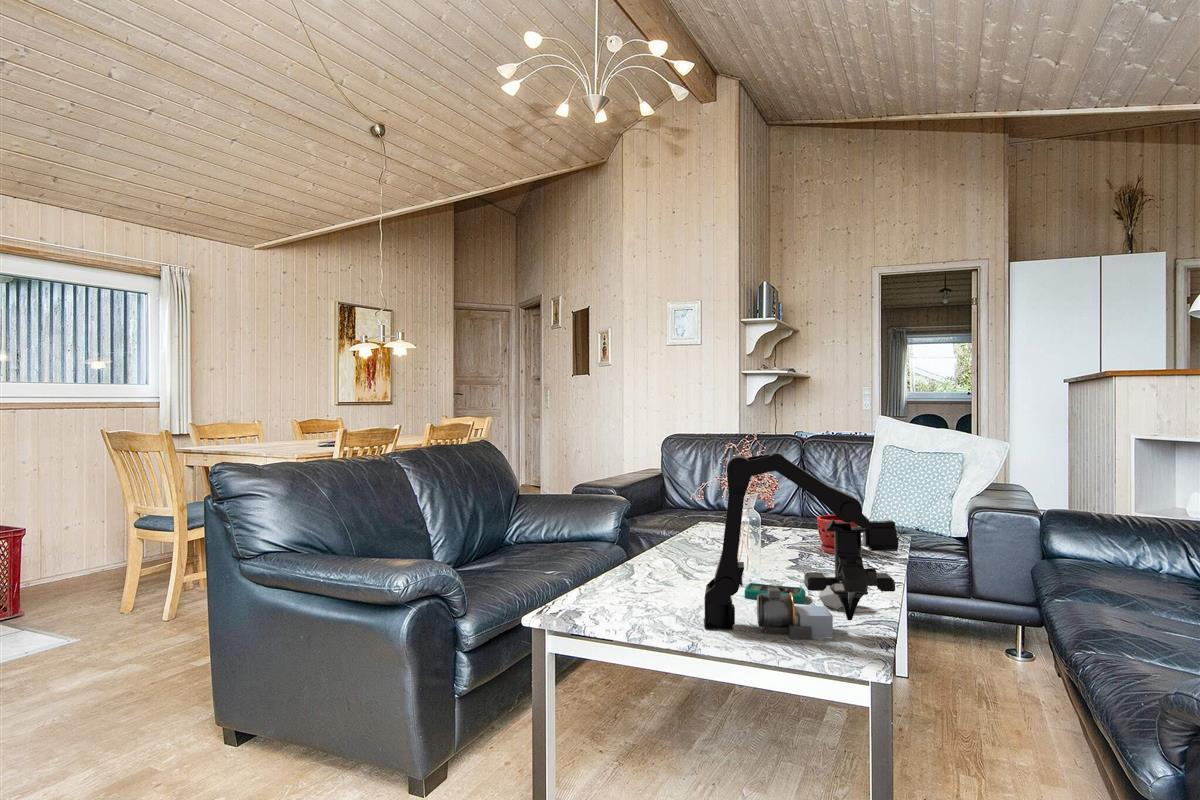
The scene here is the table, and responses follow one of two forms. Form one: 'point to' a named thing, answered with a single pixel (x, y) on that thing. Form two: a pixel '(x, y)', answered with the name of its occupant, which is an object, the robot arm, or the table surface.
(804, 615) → the blue-gray block
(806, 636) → the clip bracket
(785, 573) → the table surface
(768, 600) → the cylinder
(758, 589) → the digital multimeter
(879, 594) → the table surface
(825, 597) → the die
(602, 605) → the table surface
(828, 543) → the plant pot
